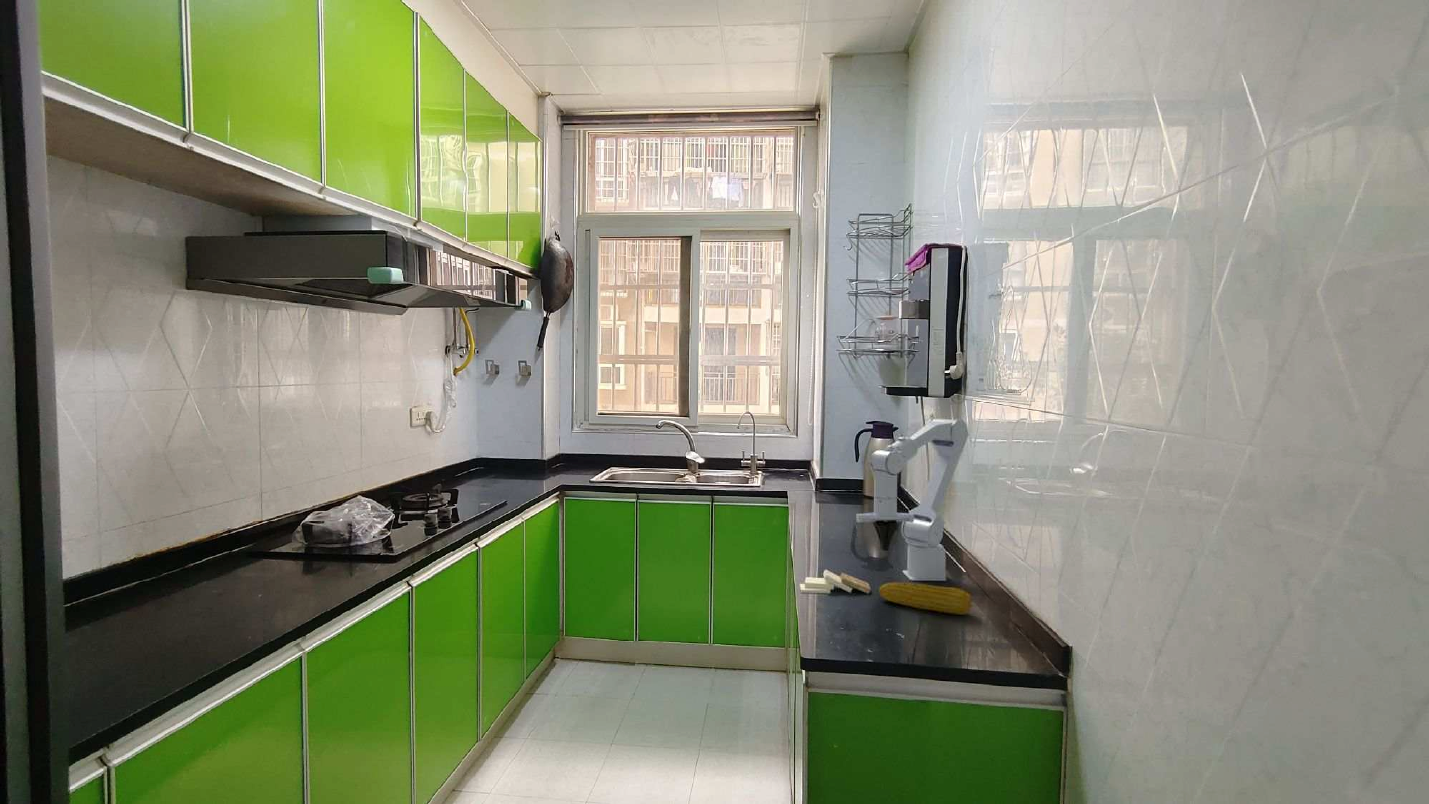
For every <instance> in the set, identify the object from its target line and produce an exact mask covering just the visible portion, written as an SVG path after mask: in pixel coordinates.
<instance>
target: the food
mask: <svg viewBox="0 0 1429 804" xmlns="http://www.w3.org/2000/svg"><path fill="white" fill-rule="evenodd" d="M878 591H879V595H880V596H881V597H882V598H884V599H885V600H886V601H888V602H892V603H894V604H897V605H898V604H899V605H902V606H906V607H910V606H911V607H910V608H914V609H919V610H926V611H935V612H937V611H938V612H937V613H943V612H944V614H950V615H957V616H958V615H959V616H960V615H961V616H962V615H967V614H969V612H970V611H971V608H972V607H973V604H972V602H973V601H972V596H971V594H970V593H968V592H967V591H965V590H963V589H960V588H958V587H947V586H938V585H931V584H930V585H929V584H922V583H921V584H920V583H912V582H896V581H893V582H887V583H884V584H881V585H880V587H879V589H878Z"/></svg>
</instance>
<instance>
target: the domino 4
mask: <svg viewBox="0 0 1429 804" xmlns="http://www.w3.org/2000/svg"><path fill="white" fill-rule="evenodd" d="M839 577H840V579H841V583H843V584H846V585H848V586H851V587H852V589H856V590H858V591H861V592H863V593H866V594H870V592H871V587H870V584H869V583H868V582H867V581H864V580H861V579H859V578H856V577H854V576H851V575H848V574H847V573H843V572H841V574H840V576H839Z"/></svg>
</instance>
